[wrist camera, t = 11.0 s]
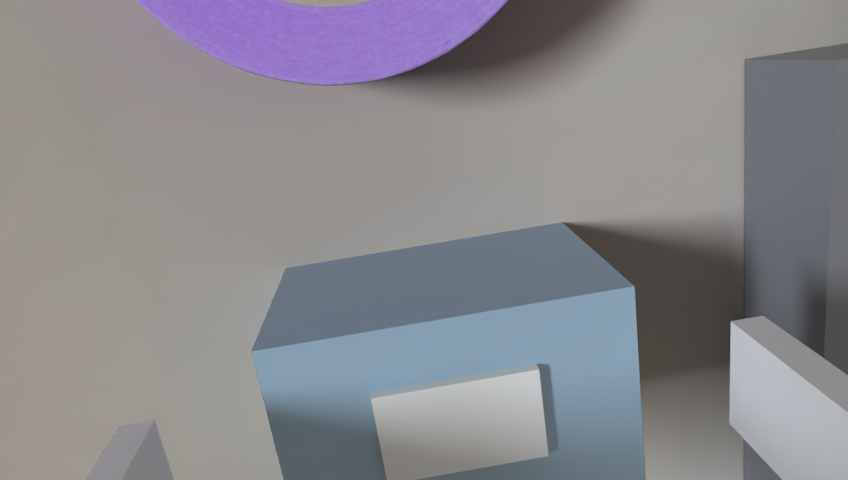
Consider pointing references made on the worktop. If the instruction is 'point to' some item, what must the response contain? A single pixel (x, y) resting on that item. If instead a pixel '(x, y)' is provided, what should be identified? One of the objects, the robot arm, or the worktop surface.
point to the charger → (456, 364)
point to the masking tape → (325, 34)
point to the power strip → (797, 203)
